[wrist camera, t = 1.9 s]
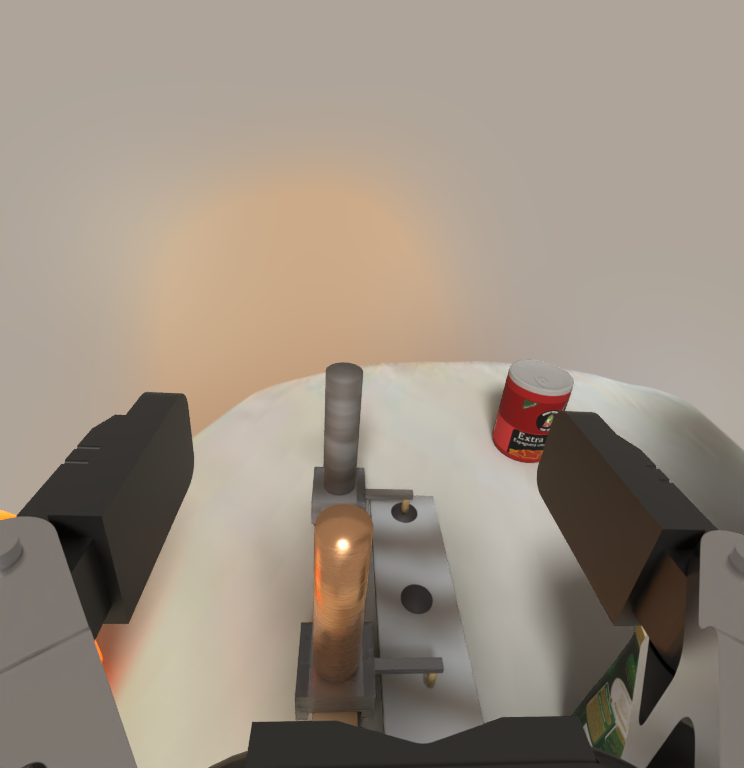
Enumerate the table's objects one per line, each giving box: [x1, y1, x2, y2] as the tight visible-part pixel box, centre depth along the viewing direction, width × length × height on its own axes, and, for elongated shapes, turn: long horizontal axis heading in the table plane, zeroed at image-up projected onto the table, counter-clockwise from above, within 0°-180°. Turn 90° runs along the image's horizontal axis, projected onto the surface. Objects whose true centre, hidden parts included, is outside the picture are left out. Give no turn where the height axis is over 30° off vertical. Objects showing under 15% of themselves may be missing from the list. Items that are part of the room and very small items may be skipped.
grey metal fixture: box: [312, 363, 484, 743], centre depth 36 cm, size 25×13×18 cm, turn 3°
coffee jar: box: [572, 626, 647, 758], centre depth 26 cm, size 10×8×19 cm
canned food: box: [493, 359, 574, 463], centre depth 59 cm, size 8×8×11 cm
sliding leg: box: [295, 504, 444, 720], centre depth 30 cm, size 5×10×16 cm, turn 93°
